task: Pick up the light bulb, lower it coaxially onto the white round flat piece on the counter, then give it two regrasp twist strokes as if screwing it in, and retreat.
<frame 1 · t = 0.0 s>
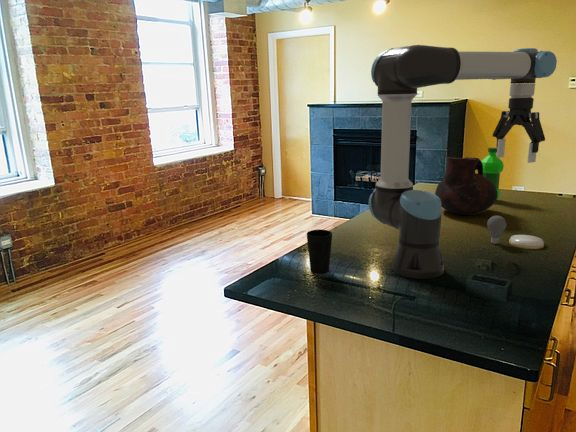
hand: (515, 159, 166), 28 cm above the counter, fingers open, 13 cm apart
light bulb: (494, 244, 165), on the counter
white round flat piece: (526, 244, 164), on the counter
plastic bottle: (488, 201, 226), on the counter
jug: (464, 212, 207), on the counter
cup: (319, 271, 145), on the counter
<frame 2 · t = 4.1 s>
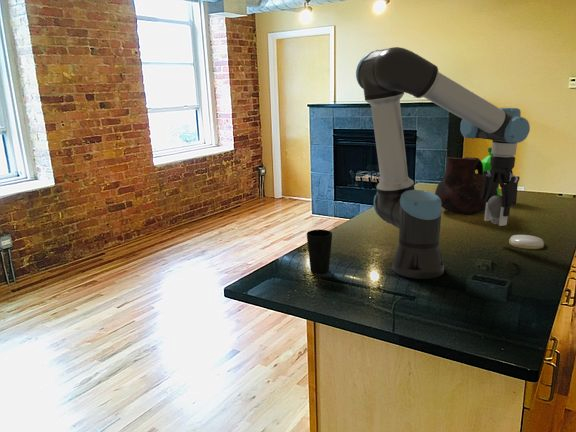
hand: (495, 222, 163), 8 cm above the counter, fingers closed on light bulb, 6 cm apart
light bulb: (494, 224, 163), point 7 cm above the counter, touching gripper
everything else where it was.
when the fingers open (3 cm above the counter, at t = 7.7 s): light bulb stays where it is, resting on white round flat piece.
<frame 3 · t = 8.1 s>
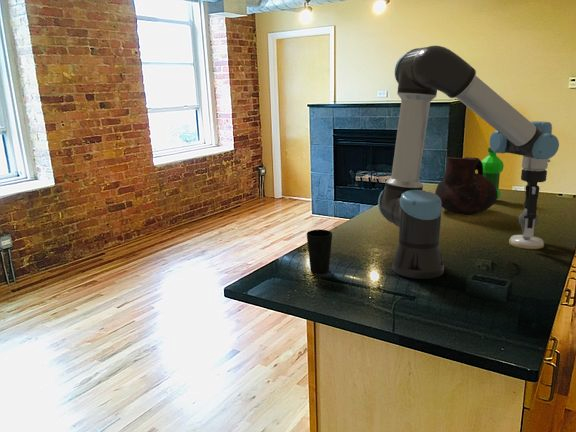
hand: (527, 231, 163), 4 cm above the counter, fingers open, 11 cm apart
light bulb: (526, 239, 164), point 2 cm above the counter, touching white round flat piece
everything else where it was.
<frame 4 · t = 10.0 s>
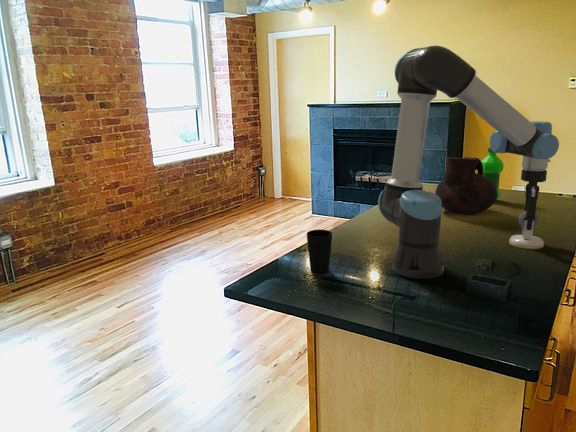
hand: (527, 235, 163), 3 cm above the counter, fingers closed on light bulb, 6 cm apart
light bulb: (526, 239, 164), point 2 cm above the counter, touching gripper, white round flat piece
everything else where it was.
when the fingers open (4 cm above the counter, at t = 11.0 s): light bulb stays where it is, resting on white round flat piece.
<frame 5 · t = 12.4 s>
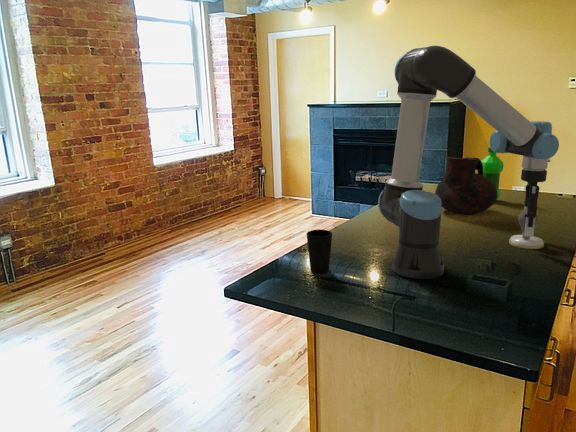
hand: (527, 230, 163), 5 cm above the counter, fingers open, 13 cm apart
light bulb: (525, 239, 164), point 2 cm above the counter, touching white round flat piece
everything else where it was.
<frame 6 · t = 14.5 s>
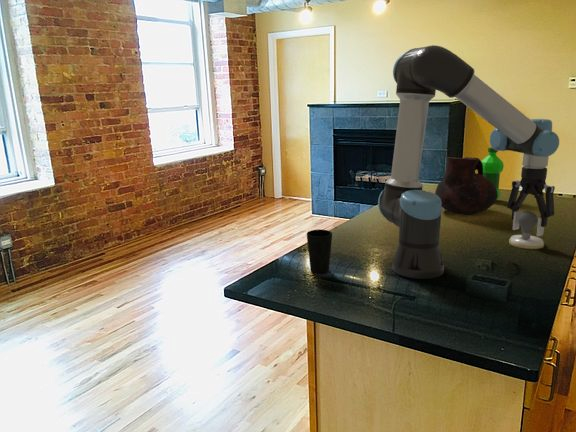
hand: (527, 232, 163), 4 cm above the counter, fingers open, 8 cm apart
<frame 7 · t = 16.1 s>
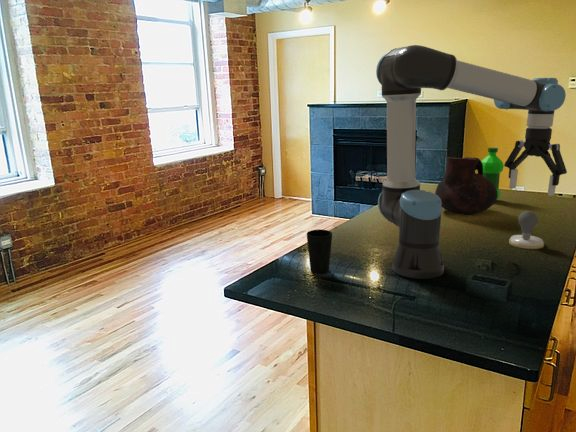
hand: (531, 191, 159), 19 cm above the counter, fingers open, 13 cm apart
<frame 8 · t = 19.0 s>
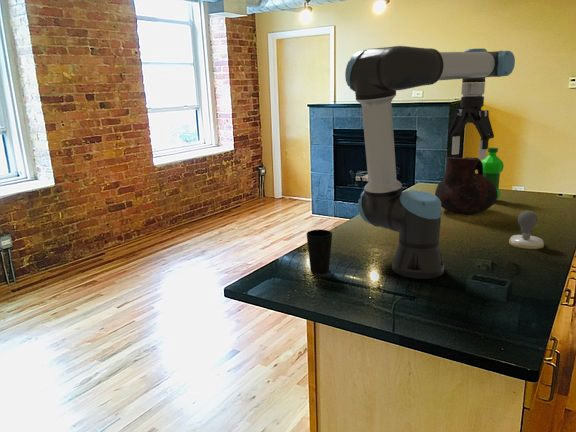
hand: (468, 156, 171), 29 cm above the counter, fingers open, 13 cm apart
at the end: light bulb 0.4 cm from the white round flat piece (horizontally); light bulb tilted 1°; the gripper is holding nothing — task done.
